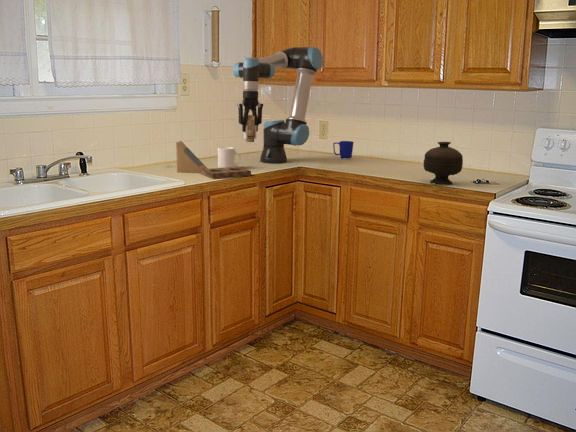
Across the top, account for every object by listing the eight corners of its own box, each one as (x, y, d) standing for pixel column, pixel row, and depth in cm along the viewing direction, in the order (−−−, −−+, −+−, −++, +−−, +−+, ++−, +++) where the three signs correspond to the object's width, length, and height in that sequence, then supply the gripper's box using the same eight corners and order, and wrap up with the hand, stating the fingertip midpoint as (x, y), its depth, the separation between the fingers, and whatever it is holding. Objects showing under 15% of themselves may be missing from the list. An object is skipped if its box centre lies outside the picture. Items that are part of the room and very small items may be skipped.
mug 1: (238, 170, 293) (238, 149, 290) (215, 169, 295) (215, 148, 292) (242, 168, 301) (242, 147, 298) (220, 166, 303) (220, 146, 300)
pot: (415, 182, 267) (421, 139, 264) (427, 180, 282) (433, 139, 279) (453, 188, 258) (460, 143, 255) (463, 185, 273) (470, 143, 270)
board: (238, 171, 290) (238, 166, 289) (250, 175, 278) (251, 170, 278) (201, 174, 279) (201, 169, 279) (213, 178, 268) (213, 173, 267)
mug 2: (333, 156, 351) (333, 140, 349) (352, 157, 349) (353, 141, 347) (332, 158, 343) (332, 141, 341) (352, 159, 342) (353, 142, 339)
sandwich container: (207, 174, 281) (206, 143, 278) (176, 172, 283) (175, 142, 279) (211, 171, 290) (210, 141, 286) (181, 170, 291) (180, 140, 288)
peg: (251, 141, 289) (252, 115, 286) (255, 142, 285) (256, 115, 282) (244, 141, 286) (244, 115, 283) (248, 142, 283) (248, 115, 280)
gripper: (262, 90, 287) (261, 137, 293) (231, 89, 279) (231, 138, 284) (269, 90, 281) (268, 138, 287) (238, 90, 272) (237, 139, 278)
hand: (250, 138), depth 285 cm, fingers closed on peg, 4 cm apart
